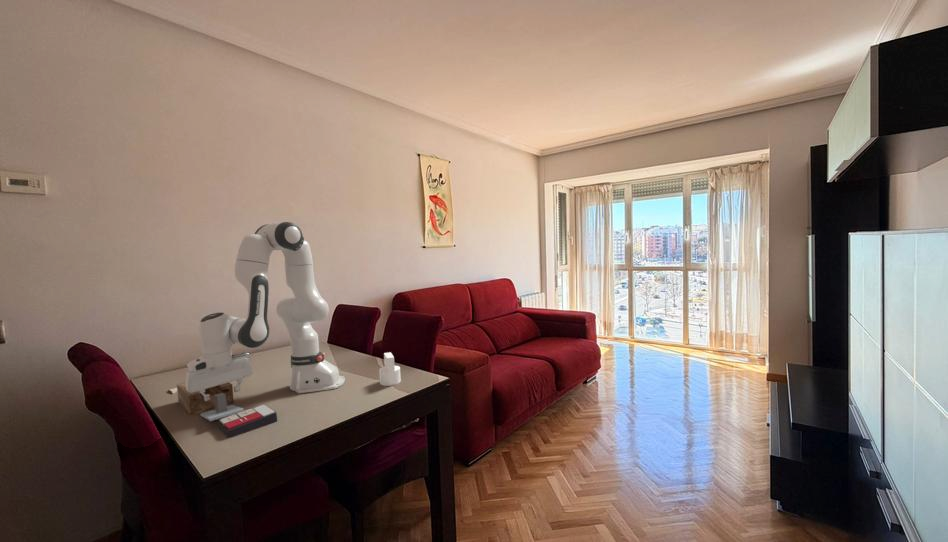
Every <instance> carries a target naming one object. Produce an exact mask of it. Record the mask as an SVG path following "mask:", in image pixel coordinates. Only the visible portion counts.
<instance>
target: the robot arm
mask: <svg viewBox="0 0 948 542" xmlns="http://www.w3.org/2000/svg"><path fill="white" fill-rule="evenodd" d="M273 251H281V252H282V254H283V257H284V271H285V282H286V285H287V287H289V288H290V289H291V290H292V293H293V295H294V296H289V297H288V296H287V297H285V298H282V299H280V300H279V302H278V303H277V304H276V309H275V310H276V314H277V317H279V319H281V320H282V322H283V324H284V326H285V328H286V329H287V333H288V335H289V340H290V350H291V351H290V352H291V355H290V368H291V380H290V381H291V382H290V385H289V390H291V391H293V392H295V393H297V394H304V393H305V394H306V393H311V392H313V393H314V392H321V391H328V390H335V389H337V388H340V387H341V386H343V384H344V383H345V381H346V378H345V376H343V375H340V372H339V369H338V367H337V366H336V365H334V364H333V363H331V362H329V361H328V360H326V359H325V353H326V352H321V351H320V343H319V334H318V333H317V331H316V330H315V329H314V328H313V326H312V324H314V323H315V324H316V323H320V322H323V321H325V320H326V319H327V317H328V316H329V312H330V306H329V303H328V302H327V301H326V300H325V299H324V298H323V297H322V296H321V294H320V291H319V289H318V287H317V284H316V280H315V273H314V261H313V254H312V250H311V246H310V243H309V242H308V241H306V240H305V237H304V236H303V233H302V229H301V228H300V227H299V225H297V224H296V223H294V222H290V221H277V222H276V221H275V222H272V223H270V224H269V223H268V224H264V225H261V226H259V227H258V228H257V230H255V232H254V233H251V234H247V235H245V236H244V237H243V238H242V239H241V242H240V245H239V247H238V250H237V255H236V259H235V264H234V277H235V279H236V281H237V282H238V283H239V284H241V285H242V286H243V287H244V288H245V290H247V293H248V307H247V316H246V318H245V317H239V316H235V315H234V316H233V315H229V314H226V313H224V312H222V311H221V312H214V313H210V314H208V315H206V316H204V317H203V318H201V320H200V321H199V330H198V331H199V341H200V344H201V346H202V349H201V355H200V356H199V357H197V358H195V359H193V360H191V361H189V362H188V363H187V365H186V367H187V369H188V370H187V371H186V374H185V381H184V382H185V385H186V390H187V391H188V392H190V393H193V392H196V391H199V392H200V393H201V394H202V395H203V396H204V401H208V400H210V395H209V394H207V395H205V394H204V393H203V392H205V389H207V388H211V387H214V386H218V385H221V384H225V383H228V382H229V383H232V382H235V381H236V382H237V383H236V385H235V386H233V392H235V393H237V392H240V391H241V385H242V383H243V379H245V378H249V377H251V376H252V375H253V368H252V365H251V361H252V360H251V359H252V358H251V354H250V353H248V352H244V351H243V352H241V353H236V354H235V353H234V354H233V350H232V346H233V345H236V344H238V345H242V346H244V347H247V348H250V349H253V348H254V349H255V348H258V347H260V346H262V345H263V344H265V342H266V341H268V338H269V335H270V326H269V322H268V307H269V291H270V290H269V279H268V272H269V265H270V256H271V254H272V253H273Z"/></svg>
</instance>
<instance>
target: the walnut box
mask: <svg viewBox="0 0 948 542" xmlns="http://www.w3.org/2000/svg"><path fill="white" fill-rule="evenodd" d="M176 388H177V392H178V393H177V401H178V404H179V405H180V406H181V407H182V408H183V409H184V410H185V411H186V412H187V413H188V415H189V416H194V415H198V414H200V413H204V412H208V411H211V410H215V402H214V395H216V394H219V393H224V394H225V395H226V403H227V406H229V405H234V402H235V401H234V386H233V384H232V382H228V383H225V384H221V385H218V386H214V387H211V388H207V389H205V392H203V393H204V394H205V395H207V394H209V395H210V400H208V401H204V396H203V395H202V394H201V393H200V392H199V391H196V392H193V393H190V392H188V391H187V390H186V385H185V381H184V382H181V383H176Z"/></svg>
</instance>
